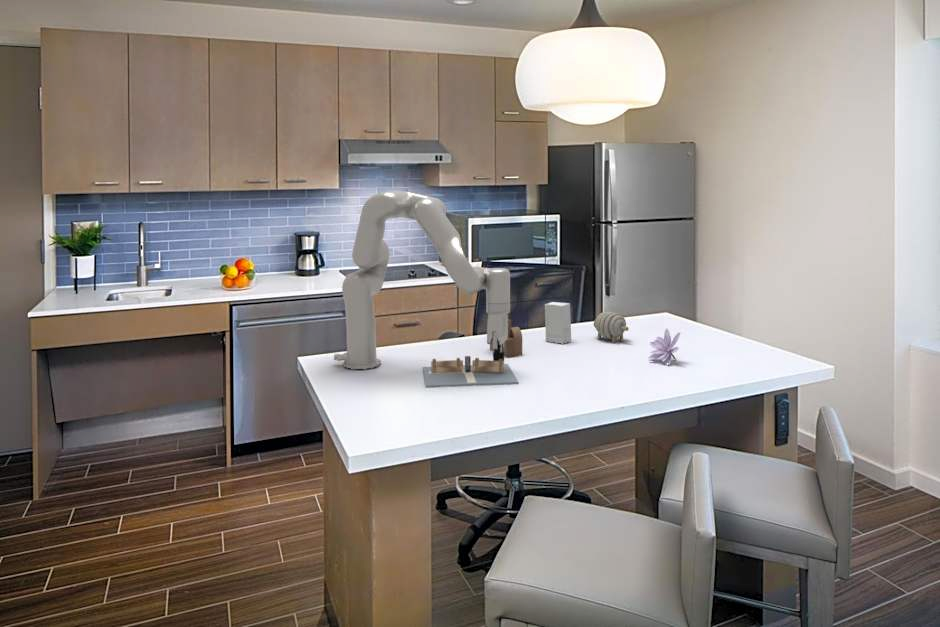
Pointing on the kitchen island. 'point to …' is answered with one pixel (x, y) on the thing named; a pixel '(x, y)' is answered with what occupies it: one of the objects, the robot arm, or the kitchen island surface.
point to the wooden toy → (512, 341)
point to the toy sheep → (610, 325)
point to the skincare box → (558, 322)
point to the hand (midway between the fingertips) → (498, 364)
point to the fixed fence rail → (447, 365)
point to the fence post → (467, 363)
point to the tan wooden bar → (487, 365)
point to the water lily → (664, 347)
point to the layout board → (468, 377)
